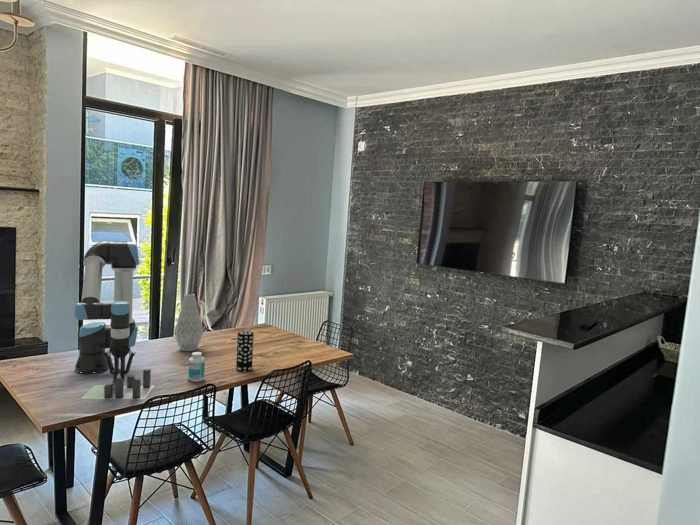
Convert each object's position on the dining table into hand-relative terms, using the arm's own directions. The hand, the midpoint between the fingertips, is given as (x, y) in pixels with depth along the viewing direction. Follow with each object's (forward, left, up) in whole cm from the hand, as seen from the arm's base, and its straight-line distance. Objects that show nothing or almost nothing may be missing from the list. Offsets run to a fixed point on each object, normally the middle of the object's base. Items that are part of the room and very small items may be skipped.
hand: (119, 388), depth 223 cm
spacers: (+3, 0, -1) cm, 3 cm away
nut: (-3, 0, -1) cm, 4 cm away
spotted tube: (+52, +37, -3) cm, 64 cm away
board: (0, 0, -2) cm, 2 cm away
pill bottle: (+30, +20, -3) cm, 36 cm away
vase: (+17, +74, -3) cm, 76 cm away
